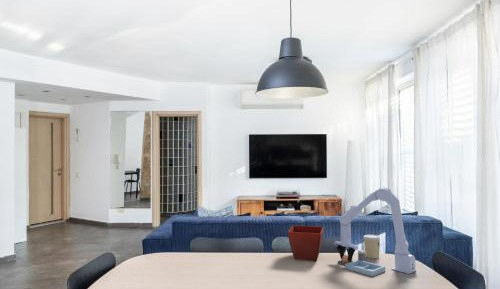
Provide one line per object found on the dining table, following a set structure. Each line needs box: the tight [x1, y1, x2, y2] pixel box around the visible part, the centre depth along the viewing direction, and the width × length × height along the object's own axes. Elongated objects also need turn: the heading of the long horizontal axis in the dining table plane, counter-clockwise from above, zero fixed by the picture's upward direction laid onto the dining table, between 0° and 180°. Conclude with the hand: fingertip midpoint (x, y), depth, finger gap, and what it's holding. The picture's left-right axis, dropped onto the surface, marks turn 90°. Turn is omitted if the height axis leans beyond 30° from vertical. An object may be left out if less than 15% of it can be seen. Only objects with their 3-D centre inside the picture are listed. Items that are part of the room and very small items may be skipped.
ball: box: [341, 254, 350, 263], centre depth 195 cm, size 4×4×4 cm
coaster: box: [337, 259, 354, 266], centre depth 195 cm, size 7×7×1 cm
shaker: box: [357, 249, 367, 262], centre depth 196 cm, size 4×4×6 cm
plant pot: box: [287, 225, 324, 262], centre depth 207 cm, size 19×19×17 cm
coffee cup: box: [363, 234, 381, 259], centre depth 208 cm, size 9×9×12 cm
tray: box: [344, 259, 386, 277], centre depth 183 cm, size 16×12×2 cm
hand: (346, 260), depth 195 cm, fingers closed on ball, 4 cm apart
